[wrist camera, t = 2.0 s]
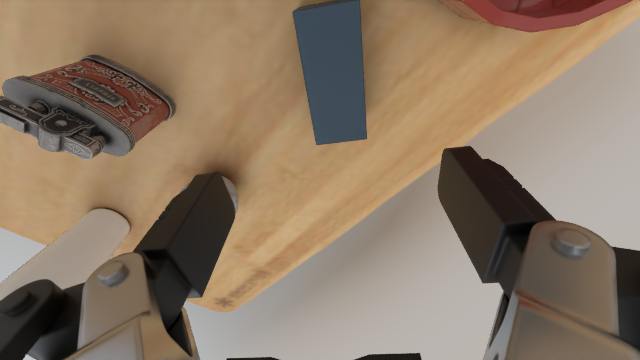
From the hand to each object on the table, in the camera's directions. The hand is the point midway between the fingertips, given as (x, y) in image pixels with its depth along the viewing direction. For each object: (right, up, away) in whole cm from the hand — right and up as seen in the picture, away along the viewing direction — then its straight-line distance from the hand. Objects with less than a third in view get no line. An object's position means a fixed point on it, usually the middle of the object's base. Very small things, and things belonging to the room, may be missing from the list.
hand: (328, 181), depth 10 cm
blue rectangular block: (+1, +10, +14) cm, 17 cm away
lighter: (-18, +9, +15) cm, 25 cm away
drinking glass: (-28, -5, +26) cm, 39 cm away
